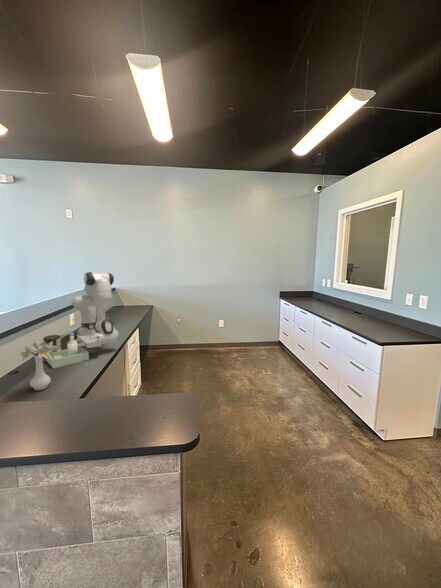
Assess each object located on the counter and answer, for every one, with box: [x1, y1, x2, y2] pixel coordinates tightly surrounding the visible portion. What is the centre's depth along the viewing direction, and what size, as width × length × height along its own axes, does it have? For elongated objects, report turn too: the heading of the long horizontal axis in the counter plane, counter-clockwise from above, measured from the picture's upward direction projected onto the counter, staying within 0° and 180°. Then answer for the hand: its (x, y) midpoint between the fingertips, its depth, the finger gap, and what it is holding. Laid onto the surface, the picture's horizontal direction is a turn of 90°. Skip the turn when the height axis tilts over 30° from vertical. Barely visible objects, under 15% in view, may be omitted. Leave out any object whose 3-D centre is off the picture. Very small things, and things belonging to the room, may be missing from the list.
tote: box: [46, 346, 90, 369], centre depth 172 cm, size 16×22×6 cm
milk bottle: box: [66, 332, 78, 356], centre depth 173 cm, size 6×6×19 cm
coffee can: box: [43, 334, 62, 352], centre depth 180 cm, size 10×10×14 cm
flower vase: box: [20, 341, 57, 391], centre depth 136 cm, size 13×18×25 cm
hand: (75, 343), depth 174 cm, fingers open, 8 cm apart
